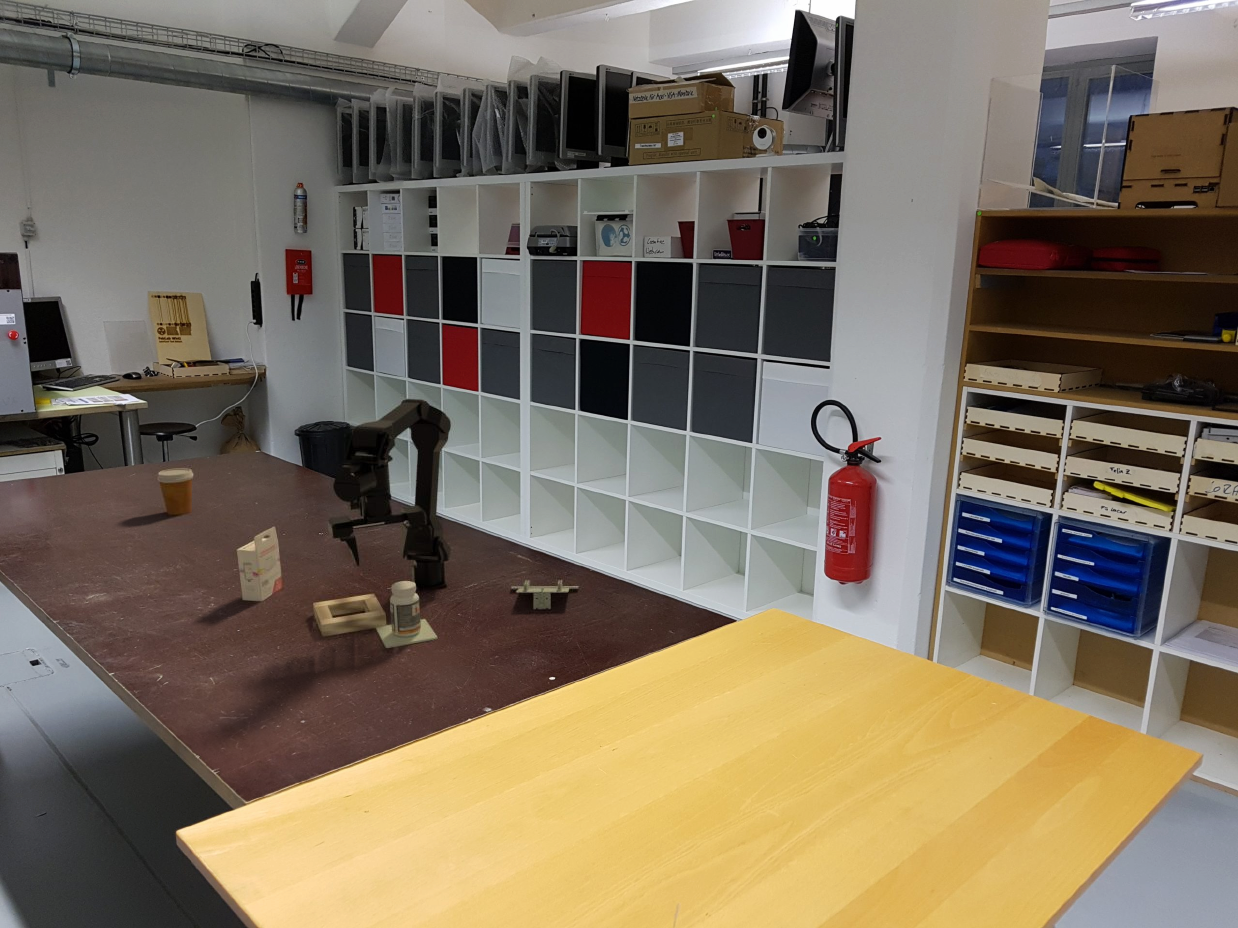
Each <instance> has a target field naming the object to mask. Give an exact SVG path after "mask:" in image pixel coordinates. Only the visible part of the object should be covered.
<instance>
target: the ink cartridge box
mask: <svg viewBox="0 0 1238 928" xmlns="http://www.w3.org/2000/svg"><path fill="white" fill-rule="evenodd" d="M276 529H277V528H276V527H275V526H272V527H271V528H269V529H266V530H264V531H263V532H261V533H259V534H258V535H255V536H254V537H253V541H250V542H249V543H247V544H245V545H244V546H241V547H239V548H238V549H236V553H237V563H238V569H239V579H240V589H241V594H242V595H241V597H242V601H252V602H263V601H265V600H267V599H268V598H270V596H272V595H275V593H277V592H279V591H280V590H281V589H283V581H282V579H283V578H282V569H281V568H282V567H281V559H280V551H279V549H280V548H279V539H278V536H277V531H276ZM265 536H268V538H267V537H266V538H265Z"/></svg>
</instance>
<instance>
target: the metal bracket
mask: <svg viewBox="0 0 1238 928" xmlns="http://www.w3.org/2000/svg"><path fill="white" fill-rule="evenodd" d="M530 582H531V581H530V580H527V579H526V580H525V581H524V582H523V586H511V587H510V590H516V591H515V593H517V594H520V593H522V594H524V593H525V594H529V593H530V594H531V593H532V594H533V610H546V609H548V610H549V609H550V610H551V608H552V606H551V603H552V602H551V594H553V593H555V594H556V593H569V591H570V590H579V586H578V585H573V586H572V585H571V586H568V585H566V586H563V580H562V579H561V580H560V579H559V580H558V582H557V586H554V585H553V586H548V585H547V586H545V585H544V586H530Z"/></svg>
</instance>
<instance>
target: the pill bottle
mask: <svg viewBox="0 0 1238 928" xmlns="http://www.w3.org/2000/svg"><path fill="white" fill-rule="evenodd" d="M390 588H391V593H392V595H391V597H390V598H389V609H390V611H389V612H390V623H391V624H390V625H391V627H392V633H393V634H394V635H396V636H400V637H408V636H413V635H415V634H417V633H419V631H420V630H421V621H420V620H421V610H420V597H419V595H418V593H416V590H417V587H416V584H415V583H414V582H412V580H411V581H410V580H403V581H396V582H395V583H392V585H391V587H390Z"/></svg>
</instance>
